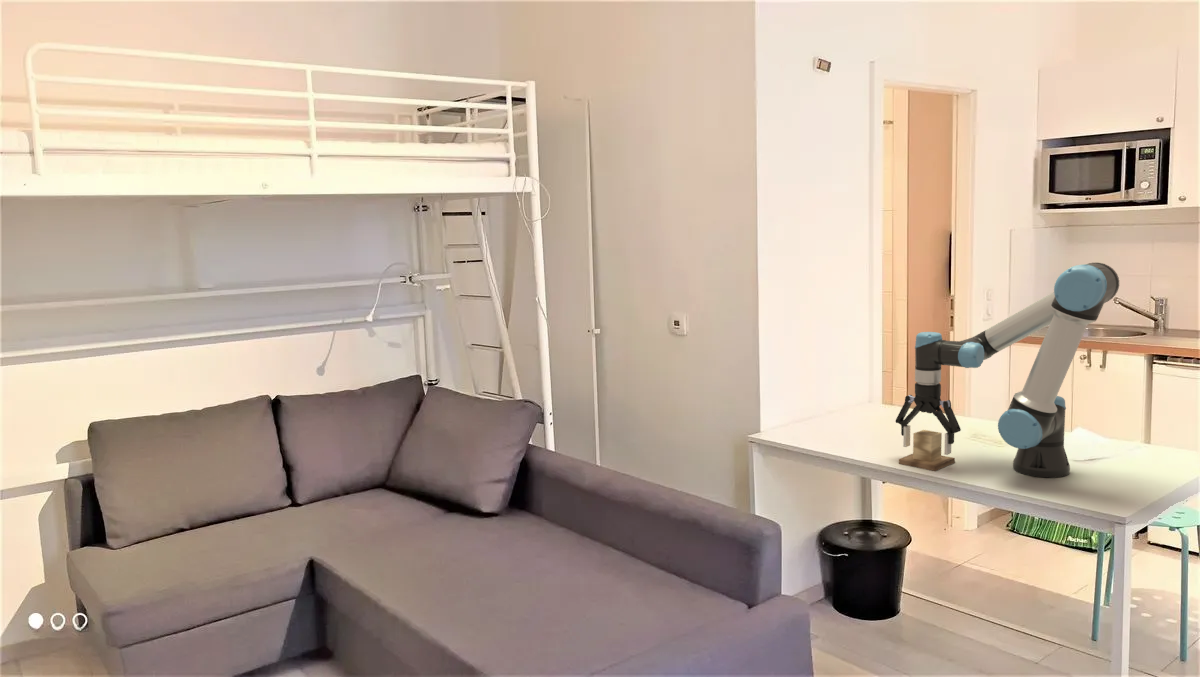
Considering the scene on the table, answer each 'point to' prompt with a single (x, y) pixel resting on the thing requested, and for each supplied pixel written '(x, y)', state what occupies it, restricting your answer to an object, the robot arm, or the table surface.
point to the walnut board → (927, 465)
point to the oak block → (927, 445)
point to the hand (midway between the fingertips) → (926, 450)
